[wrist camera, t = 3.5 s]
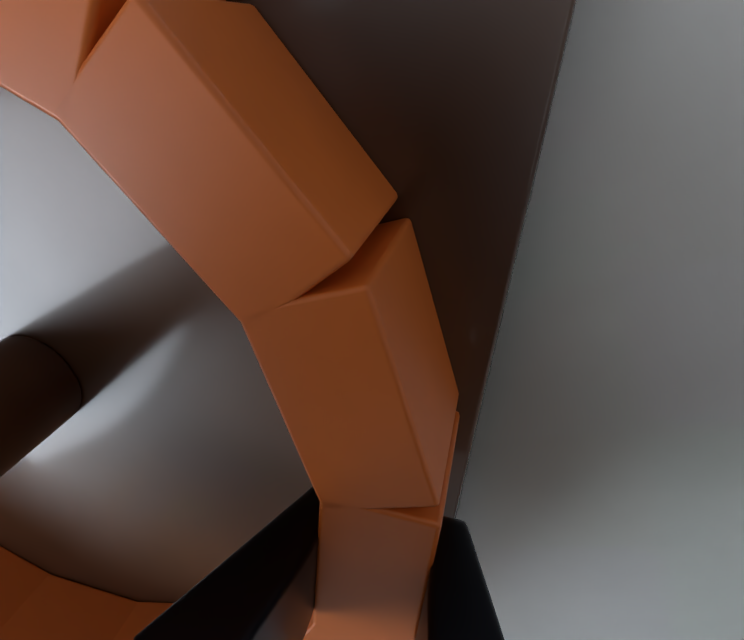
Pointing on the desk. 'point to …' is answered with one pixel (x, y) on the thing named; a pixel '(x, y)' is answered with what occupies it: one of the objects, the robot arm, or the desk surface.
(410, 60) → the walnut stand
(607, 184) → the desk surface
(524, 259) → the desk surface
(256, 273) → the ring
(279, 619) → the robot arm
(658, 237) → the desk surface
